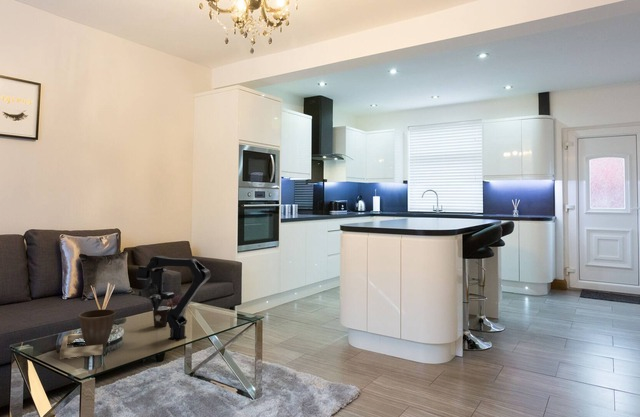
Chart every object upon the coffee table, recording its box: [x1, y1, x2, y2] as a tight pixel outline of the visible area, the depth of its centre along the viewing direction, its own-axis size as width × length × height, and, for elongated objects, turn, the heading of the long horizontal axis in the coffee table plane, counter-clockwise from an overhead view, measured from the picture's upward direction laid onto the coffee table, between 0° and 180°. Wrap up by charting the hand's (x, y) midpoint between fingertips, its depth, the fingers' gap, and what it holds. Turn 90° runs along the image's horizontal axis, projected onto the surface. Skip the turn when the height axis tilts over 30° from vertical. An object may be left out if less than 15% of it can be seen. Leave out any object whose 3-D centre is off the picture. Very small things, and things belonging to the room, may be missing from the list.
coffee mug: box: [152, 305, 170, 329], centre depth 223 cm, size 12×9×10 cm
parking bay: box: [59, 333, 104, 360], centre depth 185 cm, size 16×22×4 cm
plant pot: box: [78, 308, 116, 349], centre depth 187 cm, size 15×15×16 cm
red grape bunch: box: [166, 294, 185, 309], centre depth 260 cm, size 18×10×10 cm, turn 154°
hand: (155, 311), depth 206 cm, fingers closed
